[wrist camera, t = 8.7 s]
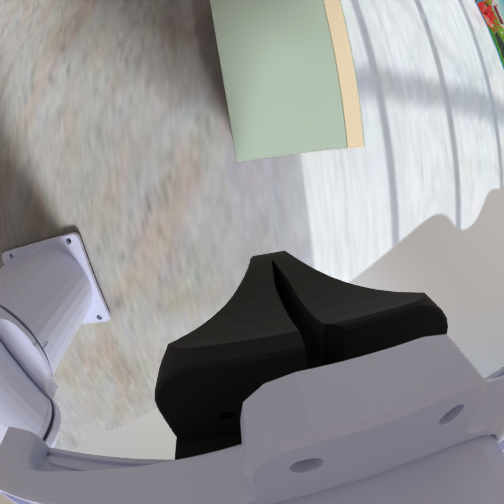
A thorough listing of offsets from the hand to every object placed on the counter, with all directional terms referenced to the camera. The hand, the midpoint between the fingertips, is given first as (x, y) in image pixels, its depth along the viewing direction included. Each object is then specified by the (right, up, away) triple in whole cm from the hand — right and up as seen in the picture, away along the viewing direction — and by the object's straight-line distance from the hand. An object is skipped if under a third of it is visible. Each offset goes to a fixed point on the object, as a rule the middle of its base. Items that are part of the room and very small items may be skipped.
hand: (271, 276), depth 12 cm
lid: (+1, +12, +2) cm, 12 cm away
